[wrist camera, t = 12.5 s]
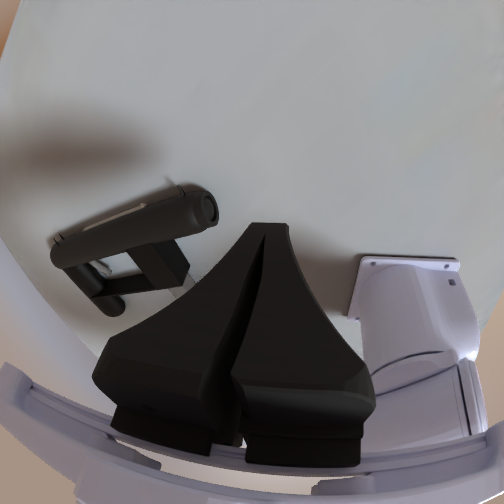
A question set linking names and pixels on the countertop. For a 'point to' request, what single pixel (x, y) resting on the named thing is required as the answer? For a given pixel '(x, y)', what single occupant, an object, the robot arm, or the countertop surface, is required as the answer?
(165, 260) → the gun
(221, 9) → the countertop surface
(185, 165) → the countertop surface
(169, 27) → the countertop surface
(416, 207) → the countertop surface
